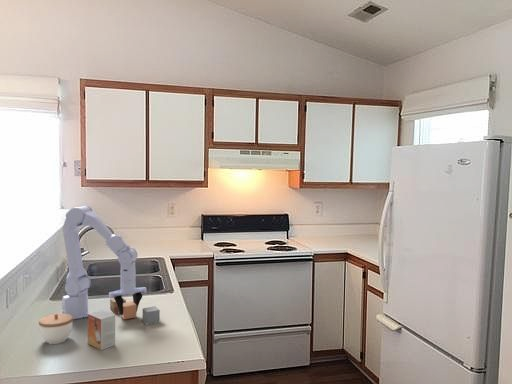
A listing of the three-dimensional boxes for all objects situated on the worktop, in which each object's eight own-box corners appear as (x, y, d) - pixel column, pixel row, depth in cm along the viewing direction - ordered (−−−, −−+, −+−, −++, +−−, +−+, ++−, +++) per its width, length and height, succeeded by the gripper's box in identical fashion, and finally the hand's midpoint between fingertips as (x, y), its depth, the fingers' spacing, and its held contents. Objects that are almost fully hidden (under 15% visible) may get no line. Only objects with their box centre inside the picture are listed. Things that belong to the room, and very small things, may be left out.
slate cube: (147, 325, 166) (147, 312, 166) (142, 321, 170) (142, 308, 170) (159, 322, 169) (159, 309, 168) (154, 318, 173) (154, 306, 172)
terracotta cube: (123, 319, 170) (123, 306, 170) (120, 315, 174) (119, 303, 174) (136, 317, 173) (136, 304, 172) (132, 313, 177) (132, 301, 176)
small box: (87, 344, 147) (87, 313, 147) (102, 339, 152) (102, 309, 151) (101, 350, 142) (100, 319, 142) (115, 345, 147) (115, 314, 146)
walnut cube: (113, 314, 178) (113, 302, 177) (110, 310, 182) (110, 298, 181) (126, 311, 180) (125, 300, 180) (122, 308, 184) (122, 296, 184)
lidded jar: (64, 332, 158) (63, 306, 157) (79, 339, 151) (78, 313, 150) (33, 341, 149) (33, 314, 149) (48, 349, 143) (47, 321, 142)
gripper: (112, 284, 165) (112, 319, 166) (149, 279, 173) (149, 312, 174) (107, 280, 171) (107, 313, 172) (143, 275, 179) (143, 307, 180)
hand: (128, 312), depth 173 cm, fingers closed on terracotta cube, 5 cm apart
